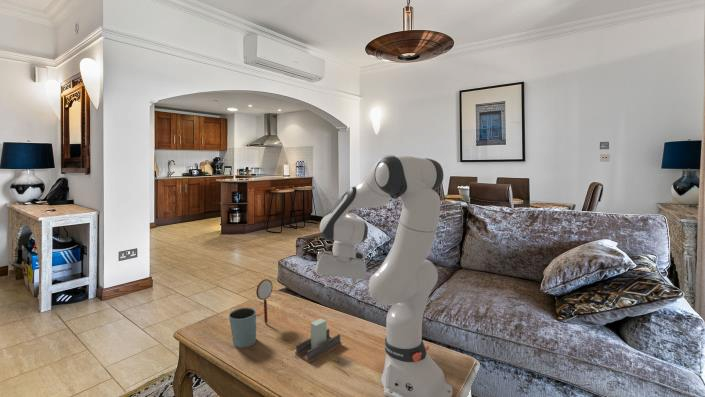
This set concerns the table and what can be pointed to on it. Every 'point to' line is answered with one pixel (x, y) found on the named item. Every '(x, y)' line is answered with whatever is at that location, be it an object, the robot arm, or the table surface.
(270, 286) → the magnifying glass
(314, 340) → the pale green eraser block
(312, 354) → the track
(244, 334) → the blue-grey cylindrical cup
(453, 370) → the table surface
